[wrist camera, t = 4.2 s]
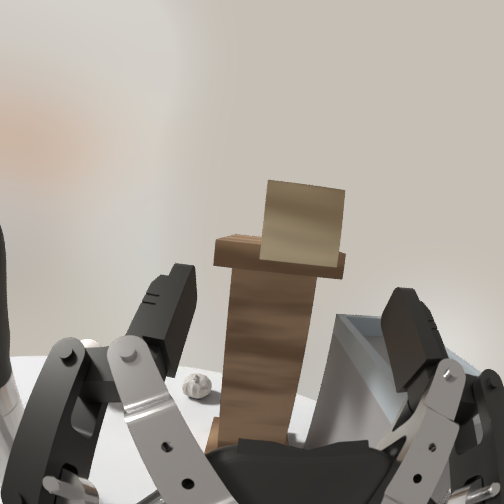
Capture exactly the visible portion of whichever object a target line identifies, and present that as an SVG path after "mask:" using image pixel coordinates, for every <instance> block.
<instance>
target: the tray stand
mask: <svg viewBox="0 0 504 504" xmlns="http://www.w3.org/2000/svg"><path fill="white" fill-rule="evenodd" d="M445 349H446V352H447V354H448V357H449V359H453V360H455V361H457V362H458V363H459V364H460V365H461V366H462V367H463V369H464V371H465V373H466V374H470V375H474V376H479V375H480V374H481V372H480V371H479V370H477V369H476V368H474V367H473V366H472V365H470V364H469V363H467V362H466V361H465V360H463V359H462V358H460V357H459V356H458V355H456V354H455V353H453V352H452V351H451V350H449V349H448V348H446V347H445ZM407 397H408V395H407V392H403V393H397V392H396V387H395V382H394V378H393V373H392V369H391V364H390V360H389V356H388V352H387V348H386V344H385V340H384V337H383V333H382V329H381V316H362V315H346V314H336V319H335V324H334V329H333V334H332V339H331V344H330V349H329V354H328V358H327V363H326V367H325V371H324V376H323V380H322V384H321V388H320V392H319V396H318V400H317V403H316V407H315V411H314V414H313V418H312V422H311V425H310V428H309V432H308V435H307V438H306V442H305V445H304V450H310V449H314V448H318V447H322V446H326V445H329V444H333V443H336V442H343V441H359V440H368V442H369V447H372V448H375V447H376V445H377V444H378V443H379V442H380V441H381V440H382V439H383V438H384V436H385V435H386V434H387V432H388V430H389V428H390V427H391V425H392V423H393V421H394V419H395V417H396V416H397V414H398V412H399V410H400V408H401V406H402V404H403V402H404V400H405V399H406V398H407ZM473 422H474V427H475V433H476V438H477V444H480V442H481V441H482V438H483V432H482V426H481V421H480V417H479V414H477V415H476V416H475V417H474V418H473ZM450 488H451V484H450V470H449V459H448V460H447V463H446V465H445V467H444V470H443V472H442V474H441V476H440V479H439V481H438V483H437V485H436V487H435V489H434V491H433V493H432V495H431V498H432V499H433V500H434V501H435V502H436V503H437V504H438V502H439V501H440V500H441V499H442V498H443V496H444V495H445V494H446V493H447V492H448V490H449V489H450Z"/></svg>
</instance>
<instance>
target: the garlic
mask: <svg viewBox="0 0 504 504" xmlns="http://www.w3.org/2000/svg"><path fill="white" fill-rule="evenodd" d="M211 387H212V384H211V381H210V380H209V379H208V378H207V376H205V375H202V374H191V375H189V376H188V377H187V378H186V379H185V381H184V384H183V387H182V389H183V392H184V394H185V395H187V396H189V397H193V398H197V399H199V398H203V397H205V396H206V395H209V394H210V390H211Z"/></svg>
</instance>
